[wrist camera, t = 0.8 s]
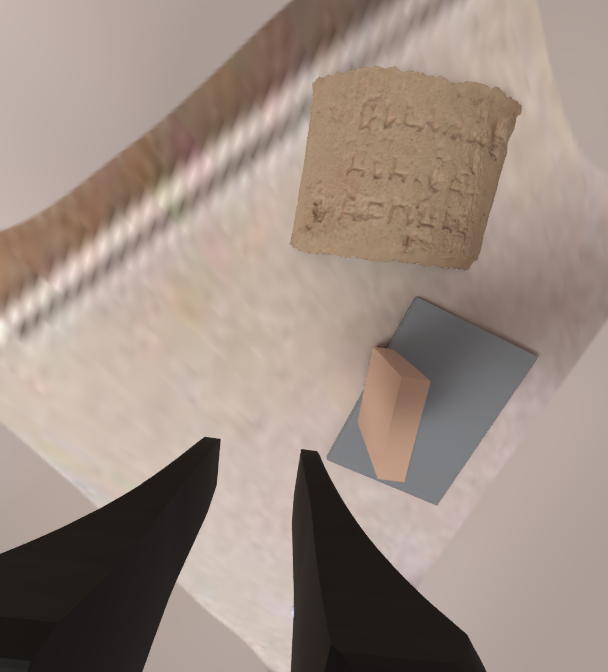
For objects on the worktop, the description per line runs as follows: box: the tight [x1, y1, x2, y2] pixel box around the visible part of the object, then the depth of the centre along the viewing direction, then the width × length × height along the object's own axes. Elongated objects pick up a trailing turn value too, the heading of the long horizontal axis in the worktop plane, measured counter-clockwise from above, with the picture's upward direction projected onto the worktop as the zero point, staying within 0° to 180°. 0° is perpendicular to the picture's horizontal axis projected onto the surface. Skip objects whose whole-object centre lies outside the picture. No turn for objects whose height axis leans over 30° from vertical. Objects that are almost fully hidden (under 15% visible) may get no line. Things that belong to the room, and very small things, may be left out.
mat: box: [327, 297, 538, 505], centre depth 21 cm, size 14×10×1 cm
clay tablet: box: [290, 66, 521, 270], centre depth 17 cm, size 14×10×3 cm
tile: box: [357, 346, 431, 482], centre depth 18 cm, size 6×2×6 cm, turn 172°
